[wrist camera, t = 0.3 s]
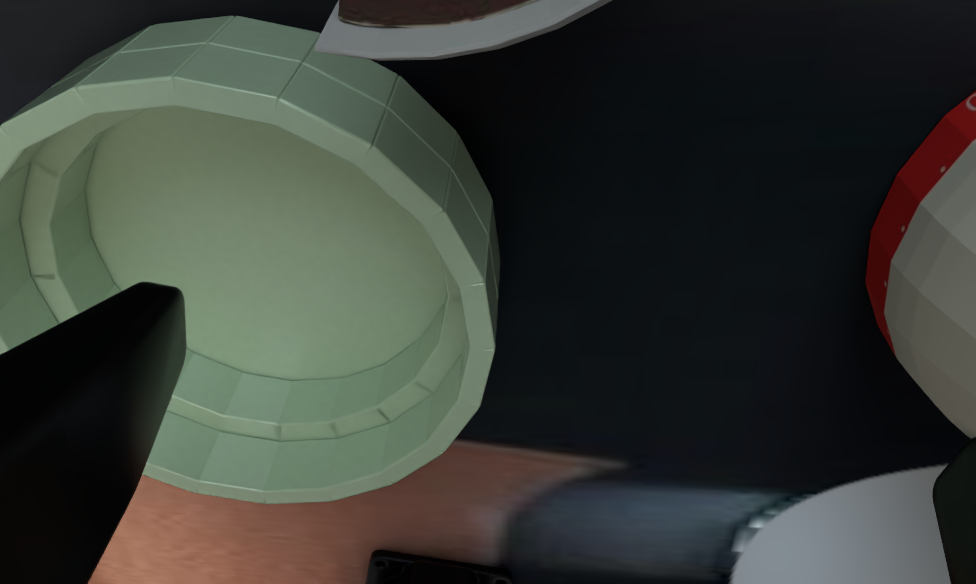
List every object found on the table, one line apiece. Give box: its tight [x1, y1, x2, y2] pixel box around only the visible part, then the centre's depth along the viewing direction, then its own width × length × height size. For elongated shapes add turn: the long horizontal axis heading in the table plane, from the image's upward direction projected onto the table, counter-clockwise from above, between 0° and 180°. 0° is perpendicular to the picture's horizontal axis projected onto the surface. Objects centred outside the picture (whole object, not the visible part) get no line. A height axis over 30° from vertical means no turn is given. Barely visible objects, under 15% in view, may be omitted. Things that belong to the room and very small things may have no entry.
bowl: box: [0, 16, 500, 504], centre depth 23 cm, size 14×14×5 cm
